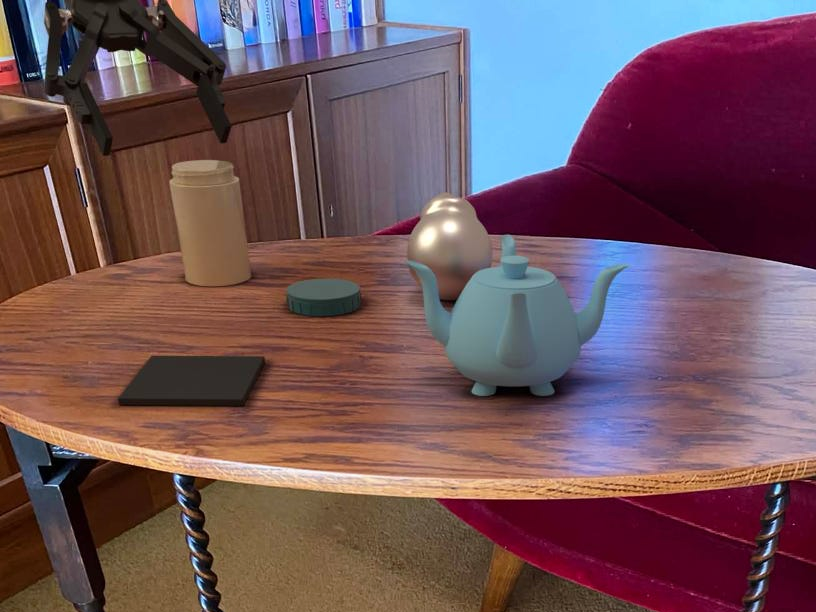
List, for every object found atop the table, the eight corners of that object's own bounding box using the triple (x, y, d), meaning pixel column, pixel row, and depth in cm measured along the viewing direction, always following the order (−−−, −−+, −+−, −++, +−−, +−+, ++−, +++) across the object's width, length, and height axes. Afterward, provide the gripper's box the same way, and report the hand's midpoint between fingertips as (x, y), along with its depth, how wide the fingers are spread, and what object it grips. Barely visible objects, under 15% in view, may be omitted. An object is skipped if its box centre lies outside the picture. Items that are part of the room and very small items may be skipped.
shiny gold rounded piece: (501, 288, 105) (504, 189, 99) (480, 314, 97) (480, 208, 91) (422, 281, 106) (420, 183, 100) (395, 306, 99) (390, 202, 93)
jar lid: (367, 295, 102) (366, 279, 101) (353, 318, 96) (352, 300, 95) (297, 293, 102) (295, 277, 101) (279, 315, 96) (277, 298, 95)
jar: (178, 286, 104) (158, 171, 98) (194, 268, 110) (176, 158, 103) (244, 286, 104) (229, 171, 98) (256, 269, 110) (243, 159, 103)
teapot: (405, 380, 82) (400, 257, 76) (511, 343, 90) (513, 229, 84) (515, 422, 75) (519, 290, 69) (620, 379, 83) (631, 256, 77)
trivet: (118, 405, 77) (117, 398, 77) (152, 361, 85) (151, 355, 85) (243, 406, 77) (242, 399, 77) (265, 362, 85) (264, 356, 85)
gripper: (187, -4, 115) (262, 152, 114) (-32, 0, 102) (51, 176, 102) (199, -59, 109) (279, 107, 108) (-33, -61, 96) (56, 126, 95)
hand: (169, 141), depth 105 cm, fingers open, 13 cm apart
